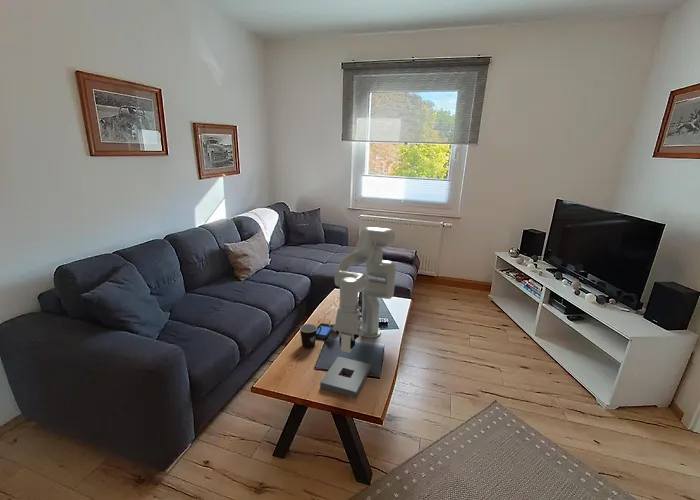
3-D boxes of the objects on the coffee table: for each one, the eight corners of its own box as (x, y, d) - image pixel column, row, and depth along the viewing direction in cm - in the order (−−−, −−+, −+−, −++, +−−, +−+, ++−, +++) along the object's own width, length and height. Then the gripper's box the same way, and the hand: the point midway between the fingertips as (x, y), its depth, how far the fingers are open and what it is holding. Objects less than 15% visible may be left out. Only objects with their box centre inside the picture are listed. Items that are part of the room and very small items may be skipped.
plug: (344, 346, 145) (344, 329, 143) (352, 347, 144) (353, 331, 142) (341, 350, 142) (341, 334, 139) (349, 352, 140) (350, 335, 138)
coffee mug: (301, 351, 166) (301, 333, 163) (299, 342, 174) (298, 325, 171) (324, 348, 169) (324, 330, 167) (320, 339, 177) (321, 322, 175)
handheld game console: (320, 324, 193) (320, 310, 190) (342, 328, 189) (343, 314, 187) (310, 338, 178) (310, 323, 176) (333, 343, 175) (334, 327, 172)
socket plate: (338, 361, 159) (338, 356, 158) (370, 369, 154) (370, 364, 153) (320, 388, 141) (320, 382, 140) (355, 398, 135) (356, 392, 135)
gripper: (370, 306, 138) (368, 345, 143) (333, 300, 143) (332, 337, 148) (364, 314, 131) (362, 355, 136) (326, 307, 137) (325, 346, 142)
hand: (347, 345), depth 142 cm, fingers closed on plug, 4 cm apart
